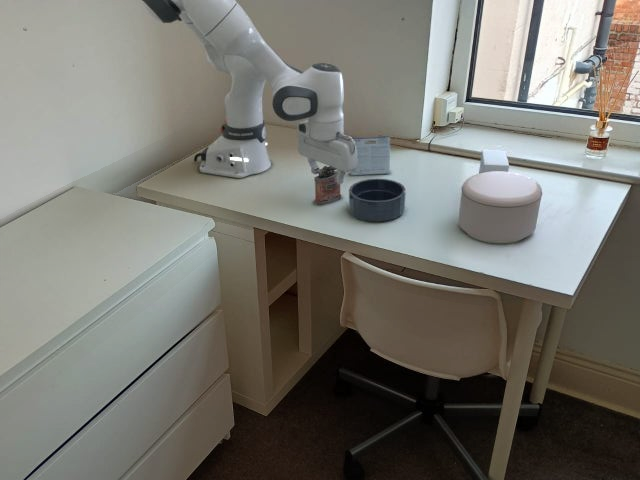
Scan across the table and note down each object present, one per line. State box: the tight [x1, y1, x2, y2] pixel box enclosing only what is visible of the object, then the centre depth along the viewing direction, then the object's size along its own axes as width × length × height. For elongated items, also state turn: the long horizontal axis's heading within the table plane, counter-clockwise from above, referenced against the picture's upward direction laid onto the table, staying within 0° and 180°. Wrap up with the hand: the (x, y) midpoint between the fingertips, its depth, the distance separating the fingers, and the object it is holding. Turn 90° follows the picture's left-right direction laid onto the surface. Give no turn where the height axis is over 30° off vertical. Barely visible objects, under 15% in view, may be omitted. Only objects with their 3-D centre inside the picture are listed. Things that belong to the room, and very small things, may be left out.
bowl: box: [348, 178, 407, 222], centre depth 176 cm, size 14×14×6 cm
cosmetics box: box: [478, 149, 510, 174], centre depth 178 cm, size 10×6×10 cm, turn 166°
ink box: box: [350, 135, 391, 176], centre depth 195 cm, size 12×2×12 cm, turn 84°
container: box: [458, 171, 543, 244], centre depth 161 cm, size 18×18×12 cm
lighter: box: [313, 165, 342, 206], centre depth 183 cm, size 8×3×10 cm, turn 117°
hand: (326, 178), depth 181 cm, fingers open, 8 cm apart
